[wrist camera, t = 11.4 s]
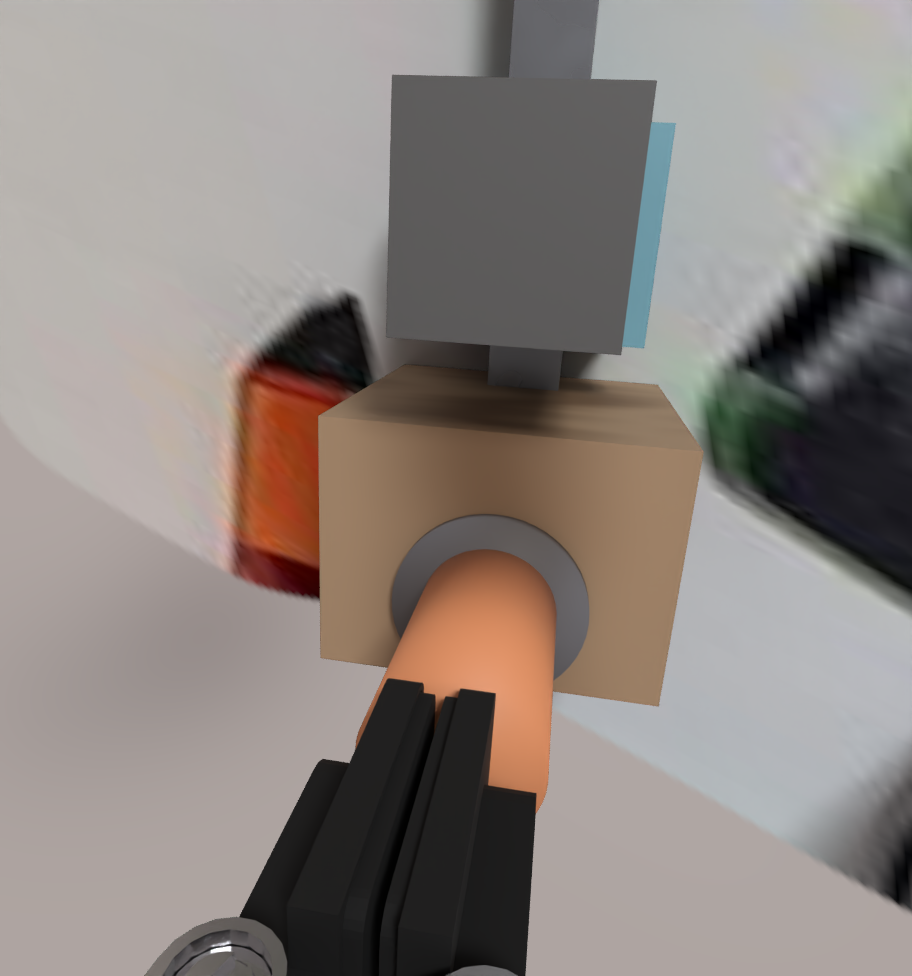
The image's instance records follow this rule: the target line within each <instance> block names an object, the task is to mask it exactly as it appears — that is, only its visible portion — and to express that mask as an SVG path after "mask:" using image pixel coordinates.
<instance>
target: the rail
mask: <svg viewBox="0 0 912 976" xmlns="http://www.w3.org/2000/svg"><path fill="white" fill-rule="evenodd" d="M598 4H599V0H514V11H513V25H512V39H511V53H510V68H509V77H514V78H560V79H591V72H592V62H593V53H594V43H595V33H596V24H597V14H598ZM562 352H563V351H560V350H547V349H533V348H520V347H507V346H494V345H490V354H489V368H488V382H487V385H494V386H506V387H518V388H530V389H542V390H554V391H558V388H559V380H560V371H561V362H562Z"/></svg>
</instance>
